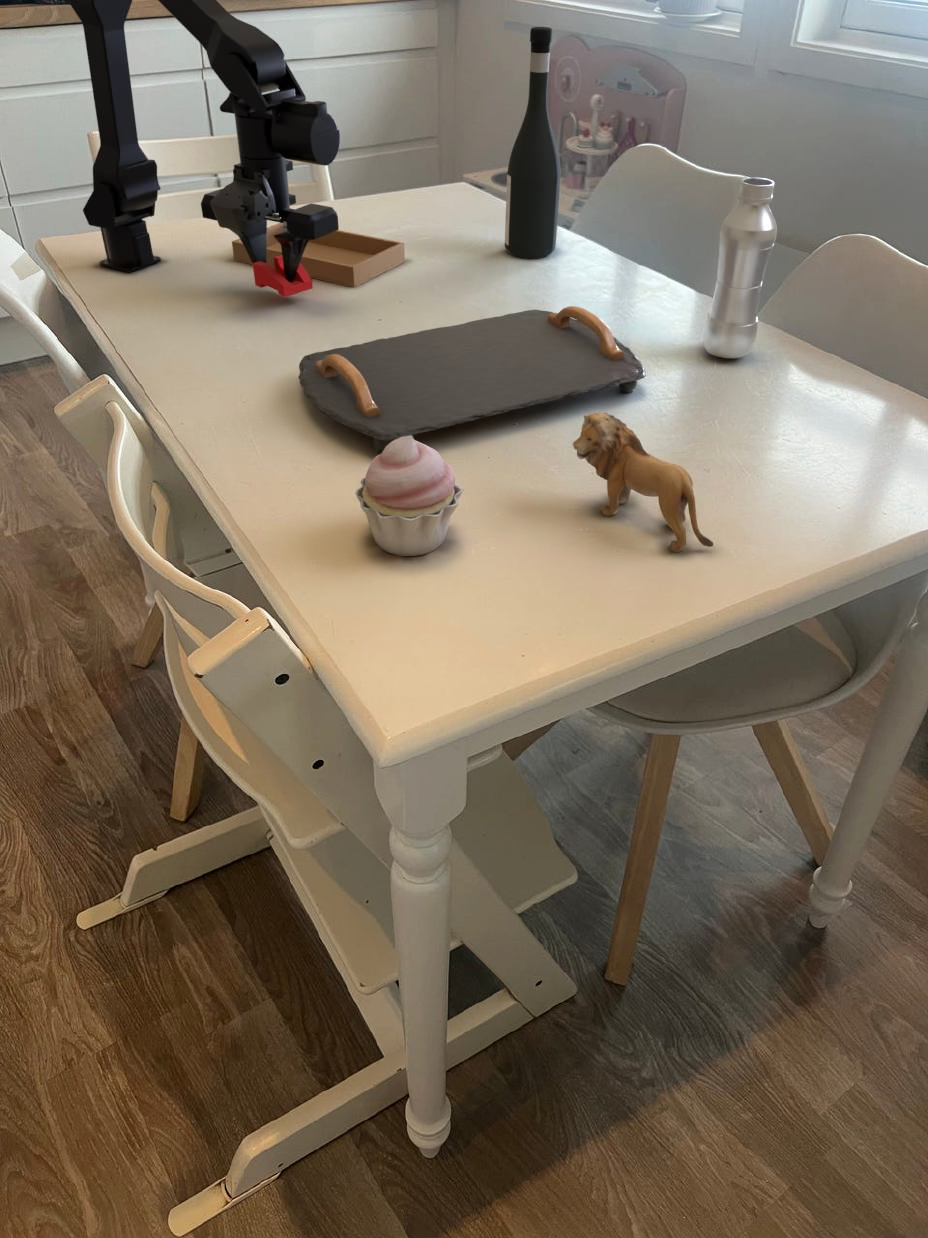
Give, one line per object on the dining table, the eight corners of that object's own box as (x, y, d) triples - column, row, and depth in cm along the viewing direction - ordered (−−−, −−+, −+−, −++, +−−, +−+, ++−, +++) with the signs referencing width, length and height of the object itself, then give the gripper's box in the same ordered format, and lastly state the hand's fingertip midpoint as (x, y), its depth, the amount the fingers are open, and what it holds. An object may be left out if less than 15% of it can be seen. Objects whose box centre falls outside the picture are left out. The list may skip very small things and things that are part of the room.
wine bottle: (494, 253, 149) (501, 27, 130) (521, 240, 154) (531, 22, 135) (538, 263, 145) (552, 33, 126) (564, 250, 150) (581, 26, 132)
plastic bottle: (757, 348, 120) (793, 178, 107) (746, 368, 115) (782, 192, 103) (706, 340, 122) (735, 171, 110) (693, 359, 117) (722, 185, 105)
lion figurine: (558, 505, 90) (566, 417, 84) (590, 483, 93) (599, 397, 87) (697, 563, 82) (715, 471, 77) (726, 538, 86) (746, 448, 80)
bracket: (255, 285, 131) (252, 262, 129) (283, 277, 134) (281, 255, 132) (284, 296, 127) (282, 274, 125) (312, 288, 130) (311, 265, 128)
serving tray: (359, 471, 94) (355, 413, 91) (276, 383, 110) (269, 330, 106) (667, 391, 110) (675, 339, 106) (555, 324, 125) (559, 277, 122)
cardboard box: (234, 260, 145) (231, 241, 143) (288, 237, 154) (287, 219, 152) (354, 287, 136) (353, 267, 134) (404, 261, 145) (404, 242, 143)
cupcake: (467, 565, 82) (469, 462, 76) (357, 569, 81) (350, 465, 75) (459, 508, 89) (460, 409, 83) (358, 511, 88) (351, 412, 82)
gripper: (161, 156, 119) (182, 283, 128) (280, 178, 111) (293, 310, 121) (222, 140, 126) (237, 260, 136) (337, 159, 119) (344, 284, 129)
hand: (275, 278), depth 130 cm, fingers closed on bracket, 4 cm apart
